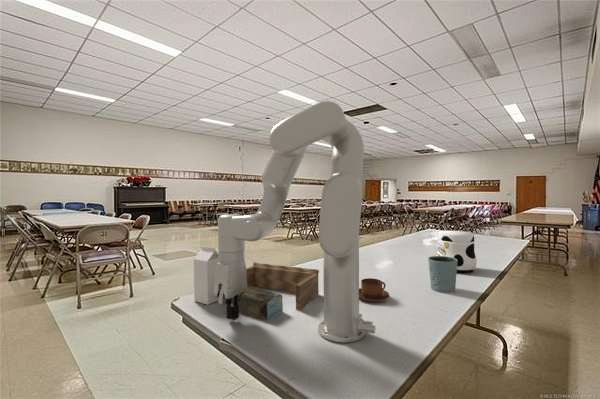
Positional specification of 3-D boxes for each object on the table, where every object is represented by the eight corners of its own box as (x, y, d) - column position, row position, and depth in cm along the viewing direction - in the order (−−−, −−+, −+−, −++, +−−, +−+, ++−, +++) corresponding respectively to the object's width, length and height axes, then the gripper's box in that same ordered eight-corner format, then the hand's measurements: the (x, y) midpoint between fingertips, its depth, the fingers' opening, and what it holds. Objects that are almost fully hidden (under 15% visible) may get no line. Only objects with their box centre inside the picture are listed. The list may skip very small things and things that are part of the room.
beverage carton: (267, 321, 86) (267, 300, 86) (224, 308, 97) (224, 288, 96) (283, 312, 92) (283, 292, 92) (241, 300, 103) (241, 282, 103)
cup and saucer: (366, 290, 112) (366, 274, 112) (395, 298, 104) (395, 281, 104) (348, 298, 104) (347, 281, 104) (377, 307, 95) (377, 289, 95)
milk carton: (207, 305, 98) (206, 249, 98) (194, 301, 102) (193, 247, 102) (223, 298, 104) (222, 246, 104) (210, 295, 108) (209, 244, 108)
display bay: (319, 294, 108) (318, 269, 108) (300, 310, 93) (299, 281, 93) (254, 284, 121) (254, 262, 121) (228, 297, 106) (228, 272, 106)
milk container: (428, 267, 145) (428, 231, 145) (452, 263, 152) (452, 229, 152) (460, 276, 129) (460, 236, 129) (484, 271, 137) (485, 233, 136)
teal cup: (460, 289, 112) (460, 258, 112) (453, 296, 105) (453, 263, 105) (433, 283, 119) (433, 254, 119) (424, 289, 112) (424, 258, 111)
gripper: (237, 250, 93) (238, 307, 94) (203, 260, 80) (204, 326, 80) (256, 252, 90) (257, 310, 91) (225, 263, 77) (226, 331, 77)
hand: (232, 318), depth 85 cm, fingers closed
